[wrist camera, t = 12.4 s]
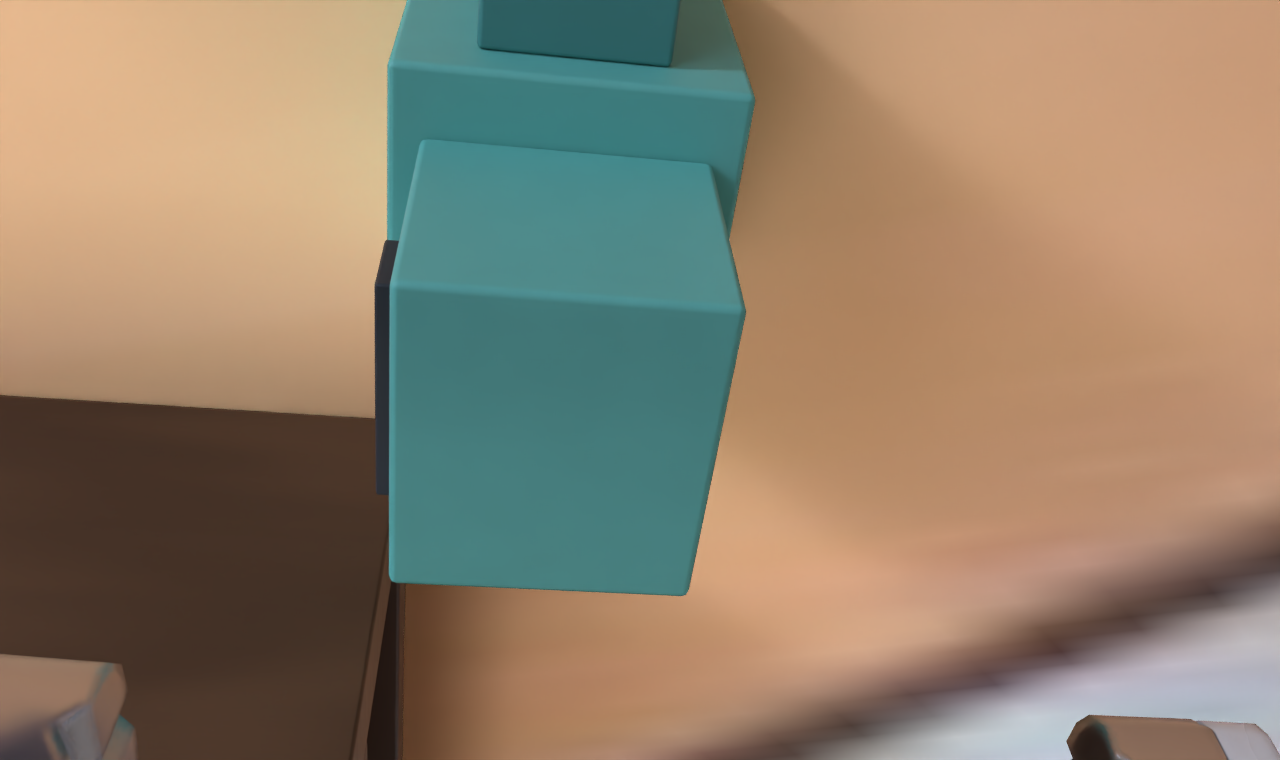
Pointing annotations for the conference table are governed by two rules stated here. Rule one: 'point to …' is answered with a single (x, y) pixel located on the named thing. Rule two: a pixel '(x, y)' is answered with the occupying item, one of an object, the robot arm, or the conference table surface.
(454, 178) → the toy robot
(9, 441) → the shelf
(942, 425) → the conference table surface
